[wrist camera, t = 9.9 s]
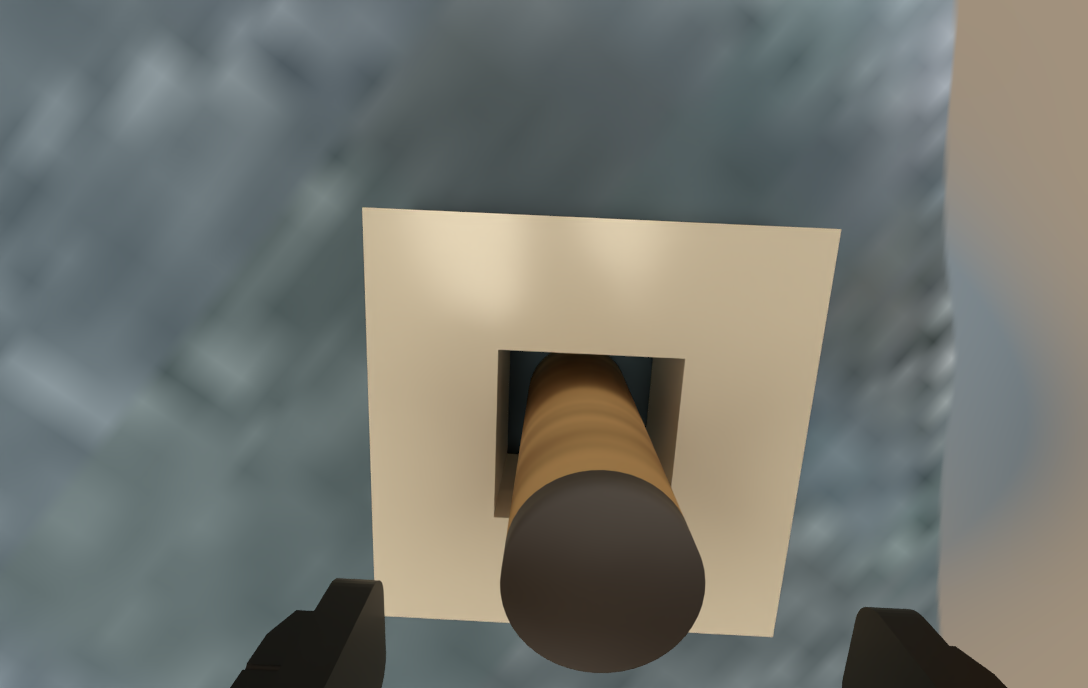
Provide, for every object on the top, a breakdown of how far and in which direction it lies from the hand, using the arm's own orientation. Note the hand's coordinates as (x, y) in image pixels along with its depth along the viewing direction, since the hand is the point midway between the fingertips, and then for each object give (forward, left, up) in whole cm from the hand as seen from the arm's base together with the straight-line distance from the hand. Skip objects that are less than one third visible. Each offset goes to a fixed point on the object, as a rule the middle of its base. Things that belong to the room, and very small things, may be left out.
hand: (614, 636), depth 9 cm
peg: (0, 0, -13) cm, 13 cm away
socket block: (0, 0, -13) cm, 13 cm away
